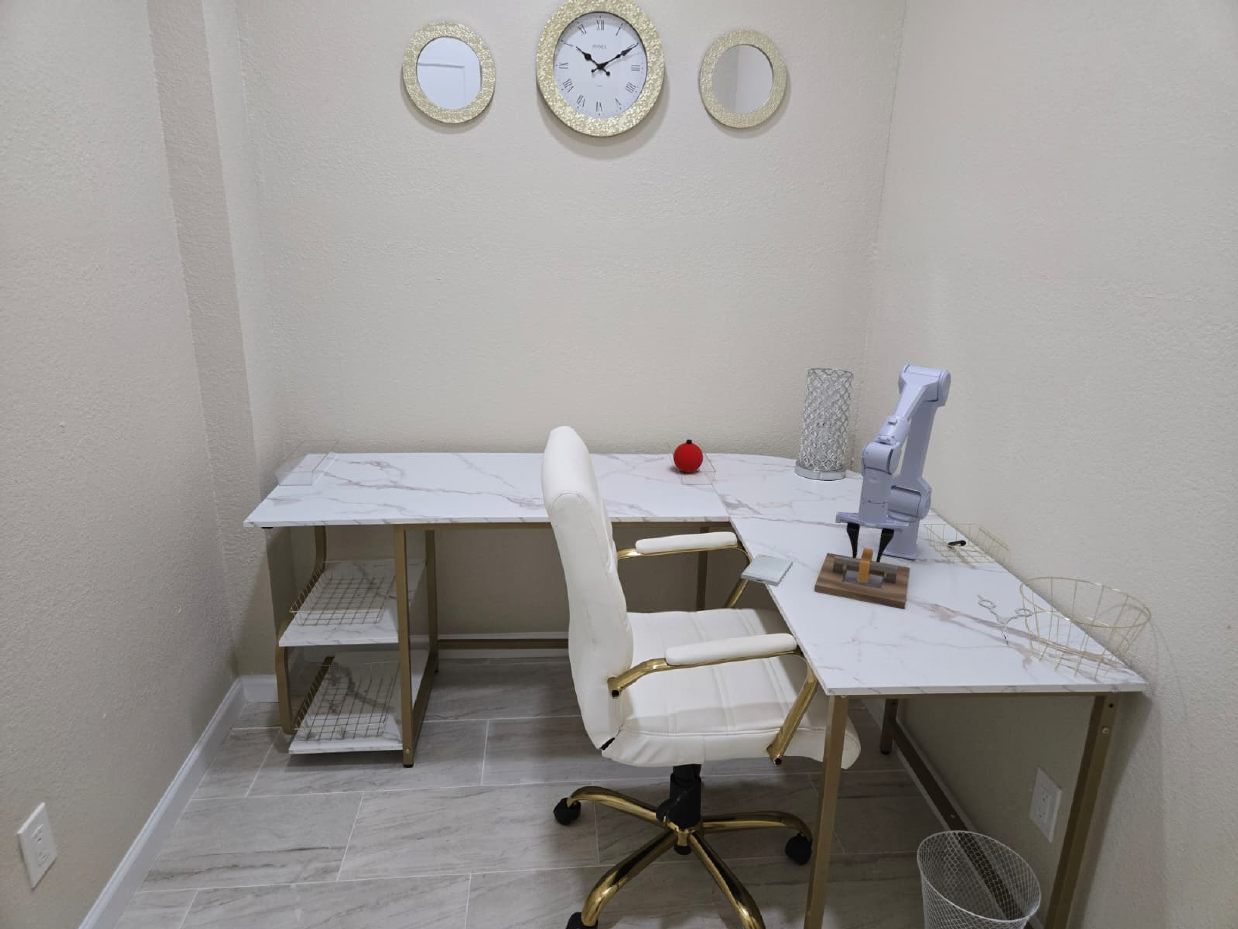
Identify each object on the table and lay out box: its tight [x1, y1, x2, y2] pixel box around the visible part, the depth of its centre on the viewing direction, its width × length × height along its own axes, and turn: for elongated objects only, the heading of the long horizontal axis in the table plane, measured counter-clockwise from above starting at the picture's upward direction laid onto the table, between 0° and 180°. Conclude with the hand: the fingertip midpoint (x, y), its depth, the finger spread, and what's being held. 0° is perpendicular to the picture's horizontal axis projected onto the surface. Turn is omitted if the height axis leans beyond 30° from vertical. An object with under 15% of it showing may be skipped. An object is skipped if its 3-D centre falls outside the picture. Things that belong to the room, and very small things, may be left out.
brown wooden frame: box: [814, 552, 911, 610], centre depth 171 cm, size 18×18×2 cm
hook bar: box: [833, 556, 898, 584], centre depth 170 cm, size 2×13×3 cm, turn 68°
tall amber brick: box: [857, 547, 874, 583], centre depth 170 cm, size 8×2×4 cm, turn 158°
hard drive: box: [740, 553, 794, 587], centre depth 175 cm, size 2×8×12 cm
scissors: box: [977, 594, 1034, 638], centre depth 157 cm, size 11×1×20 cm
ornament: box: [672, 438, 704, 473], centre depth 238 cm, size 9×9×10 cm
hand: (866, 558), depth 170 cm, fingers open, 4 cm apart
